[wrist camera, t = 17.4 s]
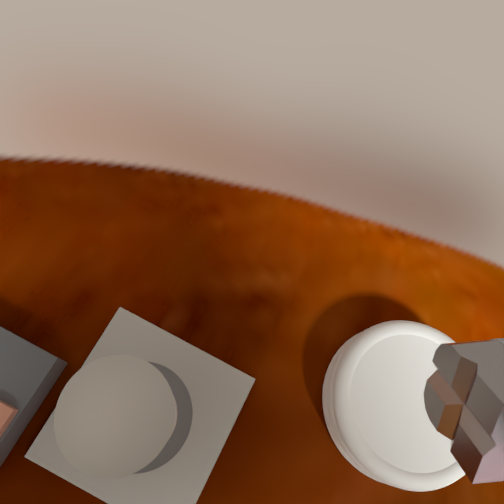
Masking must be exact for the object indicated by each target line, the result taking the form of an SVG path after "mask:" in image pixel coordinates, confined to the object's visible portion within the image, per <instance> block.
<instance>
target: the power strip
mask: <svg viewBox="0 0 504 504" xmlns="http://www.w3.org/2000/svg"><path fill="white" fill-rule="evenodd" d="M67 364H68V363H67V362H66V361H64V360H62V359H60V358H58V357H56V356H55V355H53V354H51V353H49V352H47V351H45V350H44V349H42V348H40V347H38V346H36V345H34V344H33V343H31V342H29V341H27V340H25V339H23V338H22V337H20V336H18V335H16V334H14V333H12V332H10V331H9V330H7V329H5V328H3V327H1V326H0V467H1V465H2V464H3V462H4V461H5V459H6V458H7V456H8V455H9V453H10V452H11V450H12V448H13V447H14V445H15V444H16V442H17V441H18V439H19V438H20V436H21V435H22V433H23V432H24V430H25V428H26V427H27V425H28V424H29V422H30V421H31V419H32V418H33V416H34V415H35V413H36V412H37V410H38V409H39V407H40V405H41V404H42V402H43V401H44V399H45V398H46V396H47V395H48V393H49V392H50V390H51V389H52V387H53V386H54V384H55V382H56V381H57V379H58V378H59V376H60V375H61V373H62V372H63V370H64V369H65V367H66V366H67Z"/></svg>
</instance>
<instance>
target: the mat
mask: <svg viewBox="0 0 504 504" xmlns="http://www.w3.org/2000/svg"><path fill="white" fill-rule="evenodd" d="M110 355H130V356H135V357H138V358H141V359H143V360H145V361H147V362H153V363H157V364H160V365H163V366H165V367H167V368H169V369H170V370H172V371H173V372H174V373H175V374H176V375H178V377H179V378H180V379H181V380H182V381H183V383H184V384H185V386H186V388H187V390H188V392H189V395H190V398H191V402H192V410H193V416H192V424H191V429H190V432H189V435H188V437H187V439H186V441H185V443H184V445H183V446H182V448H181V449H180V450H179V452H178V453H177V454H176V455H175V456H174V457H173V458H172V459H171V460H170V461H168V462H167V463H166V464H164V465H163V466H161V467H159V468H157V469H155V470H152V471H149V472H145V473H138V474H131V475H128V476H124V477H121V478H114V479H103V478H96V477H93V476H89V475H87V474H85V473H83V472H81V471H79V470H78V469H76V468H75V467H74V466H73V465H71V464H70V463H69V462H68V460H67V459H66V458H65V457H64V455H63V454H62V452H61V450H60V448H59V446H58V443H57V441H56V437H55V432H54V414H55V409H54V411H53V412H52V414H51V416H50V417H49V419H48V420H47V422H46V423H45V425H44V427H43V428H42V430H41V431H40V433H39V434H38V436H37V437H36V439H35V441H34V442H33V444H32V445H31V447H30V448H29V450H28V452H27V453H26V455H25V456H24V457H25V458H27V459H29V460H31V461H32V462H34V463H36V464H38V465H40V466H41V467H43V468H45V469H47V470H49V471H50V472H52V473H54V474H56V475H57V476H59V477H61V478H63V479H65V480H66V481H68V482H70V483H72V484H74V485H75V486H77V487H79V488H81V489H83V490H84V491H86V492H88V493H90V494H92V495H93V496H95V497H97V498H99V499H101V500H102V501H104V502H106V503H108V504H196V502H197V500H198V498H199V496H200V494H201V492H202V490H203V488H204V486H205V484H206V481H207V479H208V477H209V475H210V473H211V471H212V469H213V467H214V465H215V463H216V461H217V459H218V456H219V454H220V452H221V450H222V448H223V446H224V444H225V442H226V440H227V438H228V436H229V433H230V431H231V429H232V427H233V425H234V423H235V421H236V419H237V417H238V415H239V413H240V411H241V408H242V406H243V404H244V402H245V400H246V398H247V396H248V394H249V392H250V390H251V388H252V386H253V383H254V381H255V378H253V377H251V376H249V375H247V374H245V373H243V372H241V371H240V370H238V369H236V368H234V367H232V366H230V365H228V364H226V363H225V362H223V361H221V360H219V359H217V358H215V357H213V356H212V355H210V354H208V353H206V352H204V351H202V350H200V349H198V348H197V347H195V346H193V345H191V344H189V343H187V342H185V341H183V340H182V339H180V338H178V337H176V336H174V335H172V334H170V333H168V332H167V331H165V330H163V329H161V328H159V327H157V326H155V325H153V324H152V323H150V322H148V321H146V320H144V319H142V318H140V317H138V316H137V315H135V314H133V313H131V312H129V311H127V310H125V309H124V308H122V307H119V309H118V310H117V312H116V314H115V315H114V317H113V318H112V320H111V321H110V323H109V325H108V326H107V328H106V329H105V331H104V332H103V334H102V336H101V337H100V339H99V340H98V342H97V343H96V345H95V347H94V348H93V350H92V351H91V353H90V354H89V356H88V358H87V359H86V361H85V362H84V364H83V365H82V367H84V366H85V365H87V364H88V363H90V362H92V361H94V360H96V359H99V358H102V357H106V356H110ZM82 367H81V368H82ZM81 368H80V369H81Z"/></svg>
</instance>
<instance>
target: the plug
mask: <svg viewBox="0 0 504 504" xmlns="http://www.w3.org/2000/svg"><path fill="white" fill-rule="evenodd" d="M192 416H193V410H192V402H191V398H190V395H189V392H188V390H187V388H186V386H185V384H184V383H183V381H182V380H181V379H180V378H179V377H178V375H176V374H175V373H174V372H173V371H172V370H170V369H169V368H167V367H165V366H163V365H160V364H157V363H153V362H147V361H145V360H143V359H141V358H138V357H135V356H130V355H110V356H106V357H102V358H99V359H96V360H94V361H92V362H90V363H88V364H87V365H85V366H84V367H82V368H81V369H80V370H79V371H78V372H76V373H75V374H74V375H73V376H72V377H71V379H70V380H69V381H68V382H67V384H66V385H65V387H64V389H63V390H62V392H61V394H60V396H59V399H58V401H57V405H56V408H55V414H54V432H55V437H56V441H57V443H58V446H59V448H60V450H61V452H62V454H63V455H64V457H65V458H66V459H67V460H68V462H69V463H70V464H71V465H73V466H74V467H75V468H76V469H78V470H79V471H81V472H83V473H85V474H87V475H89V476H93V477H96V478H103V479H114V478H121V477H124V476H128V475H131V474H138V473H145V472H149V471H152V470H155V469H157V468H159V467H161V466H163V465H164V464H166V463H167V462H168V461H170V460H171V459H172V458H173V457H174V456H175V455H176V454H177V453H178V452H179V450H180V449H181V448H182V446H183V445H184V443H185V441H186V439H187V437H188V435H189V432H190V429H191V424H192Z"/></svg>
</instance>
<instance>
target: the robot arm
mask: <svg viewBox="0 0 504 504" xmlns="http://www.w3.org/2000/svg"><path fill="white" fill-rule="evenodd" d="M432 362H433V363H434V365H435V367H436V369H437V370H436V371H435V372H434V373H433V374H432V375H431V376H430V377H429V378H428V379H427V381H426V385H425V389H424V403H425V409H426V412H427V415H428V417H429V420H430V421H431V423H432V424H433V426H434V427H435V429H436V431H438V432H439V433H441V434H442V435H444V436H445V437H447V438H449V439H450V440H451V448H450V452H451V453H452V455H453V456H454V458H455V459H456V461H457V462H458V464H459V465H460V467H461V468H462V470H463V471H464V472H465V474H466V475H467V477H468V478H469V480H470V481H471V483H472V484H476V483H486V482H496V481H504V338H500V339H491V340H484V341H471V342H457V343H444V344H441V345H440V346H439V347H438V348H437V349H436V351H435V354H434V357H433V360H432Z"/></svg>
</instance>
